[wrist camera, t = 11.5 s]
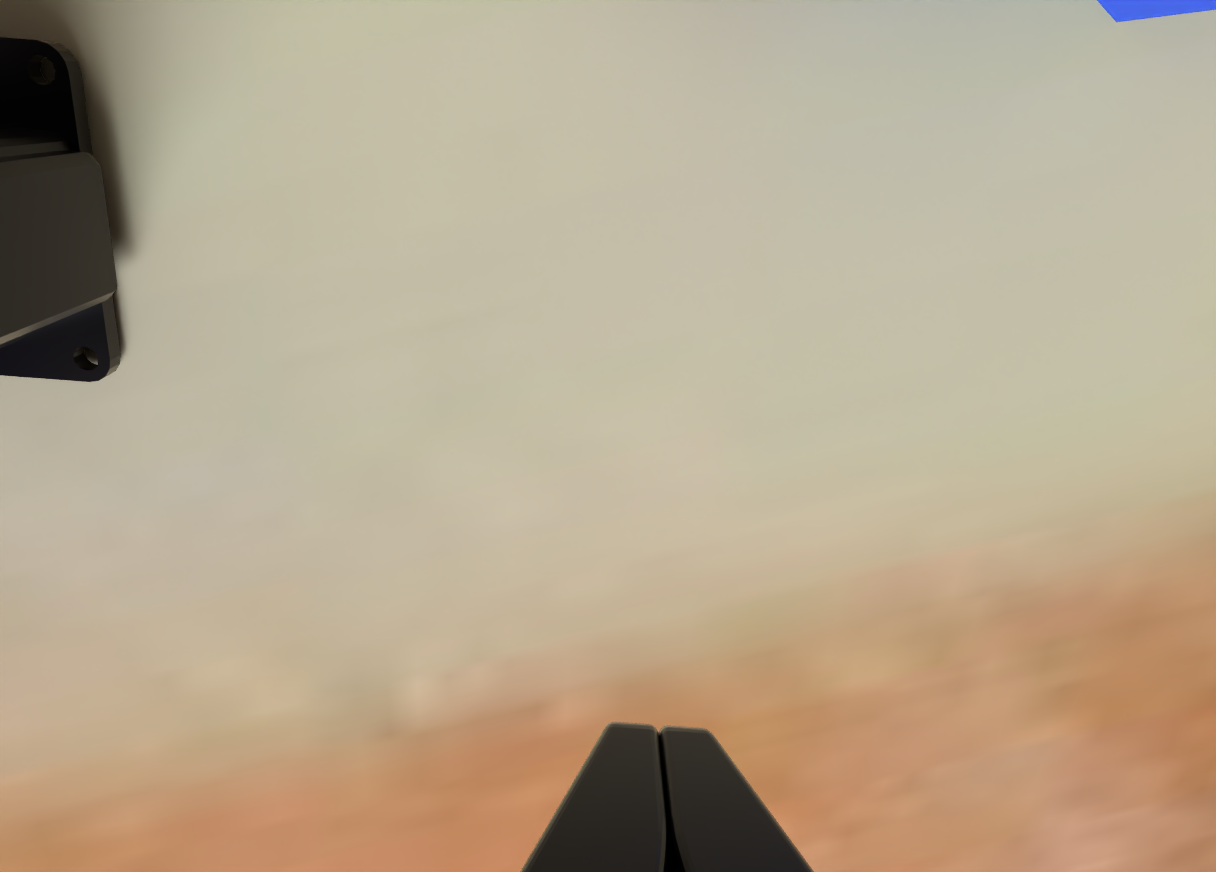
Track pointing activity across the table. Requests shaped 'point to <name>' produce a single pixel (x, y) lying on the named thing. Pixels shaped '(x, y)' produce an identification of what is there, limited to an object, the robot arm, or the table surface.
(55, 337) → the robot arm
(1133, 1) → the bracket
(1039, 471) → the table surface
